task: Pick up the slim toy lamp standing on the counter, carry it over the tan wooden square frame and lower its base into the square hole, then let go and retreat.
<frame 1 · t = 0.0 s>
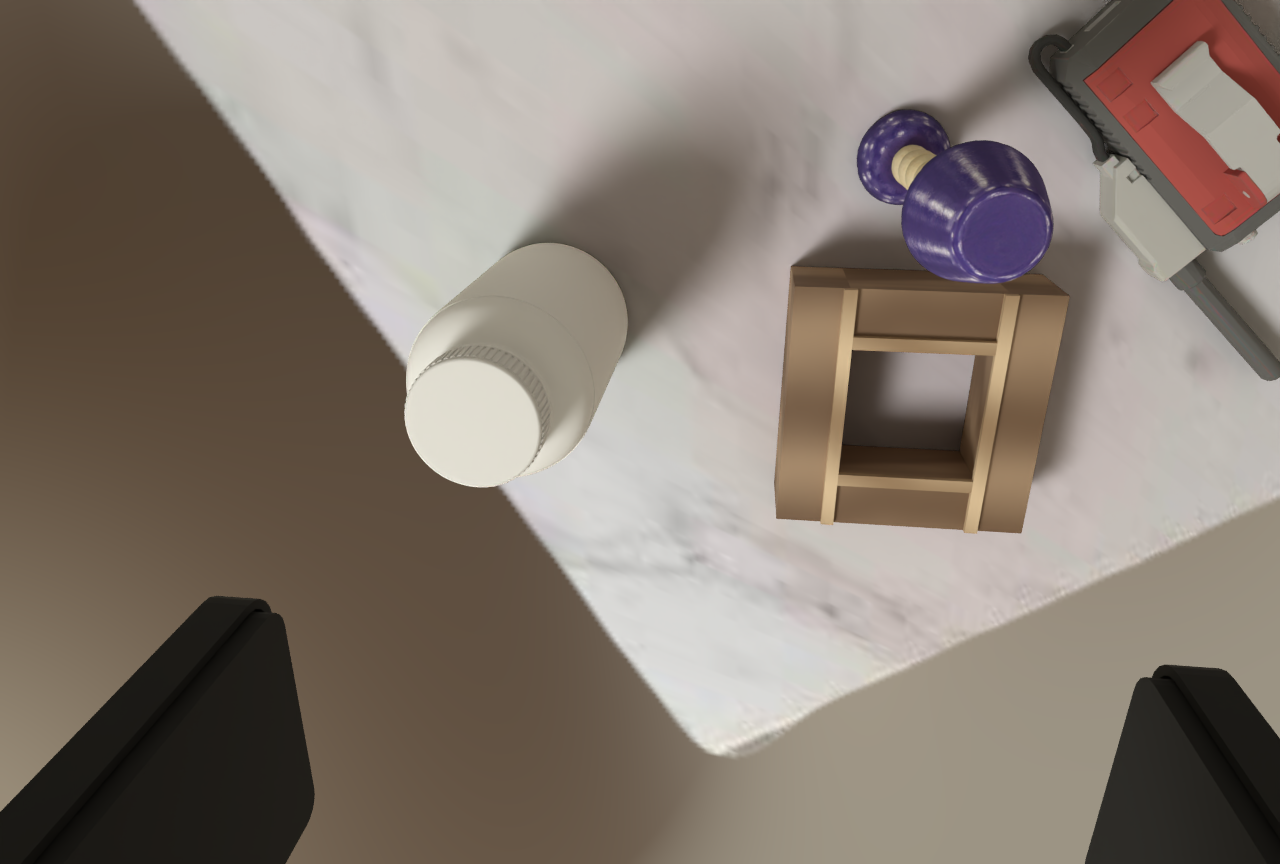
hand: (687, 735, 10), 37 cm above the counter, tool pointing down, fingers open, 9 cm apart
tan wooden square frame: (899, 385, 46), on the counter
pill bottle: (554, 314, 47), on the counter
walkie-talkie: (1197, 172, 41), on the counter
toy lamp: (906, 163, 42), on the counter
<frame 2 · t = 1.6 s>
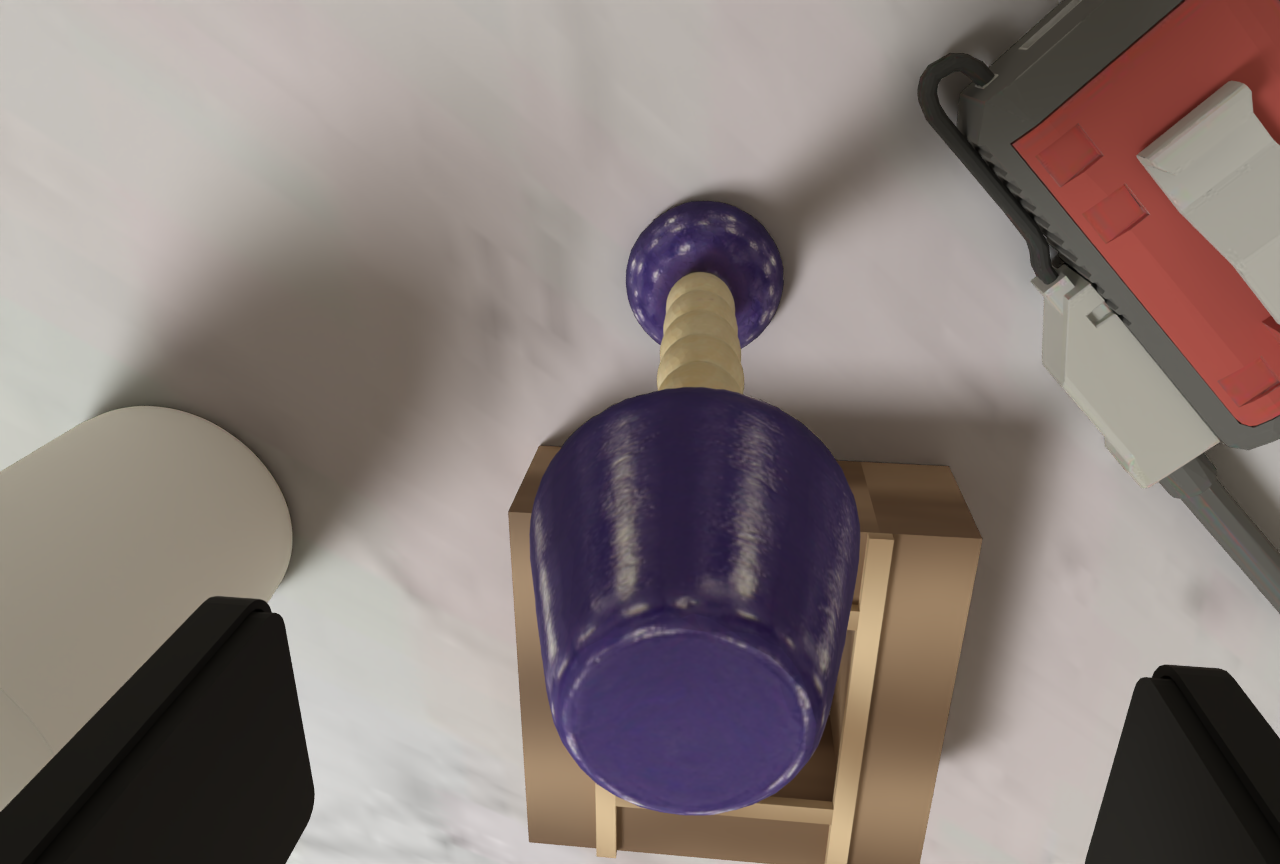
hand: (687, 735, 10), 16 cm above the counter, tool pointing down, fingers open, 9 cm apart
tan wooden square frame: (730, 622, 29), on the counter
pill bottle: (184, 506, 30), on the counter
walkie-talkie: (1211, 299, 24), on the counter
toy lamp: (712, 287, 25), on the counter
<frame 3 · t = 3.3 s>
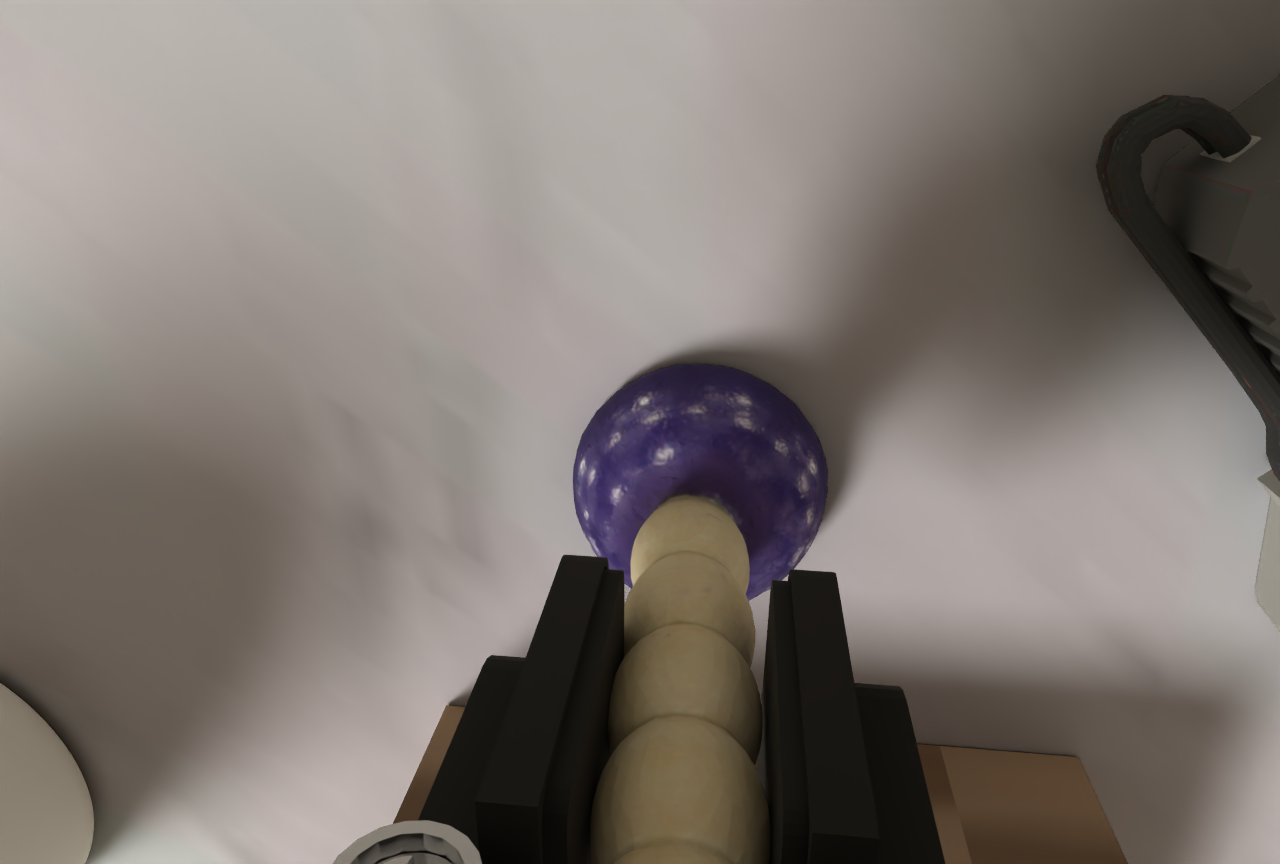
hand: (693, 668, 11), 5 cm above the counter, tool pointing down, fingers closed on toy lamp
toy lamp: (713, 489, 15), on the counter, touching gripper
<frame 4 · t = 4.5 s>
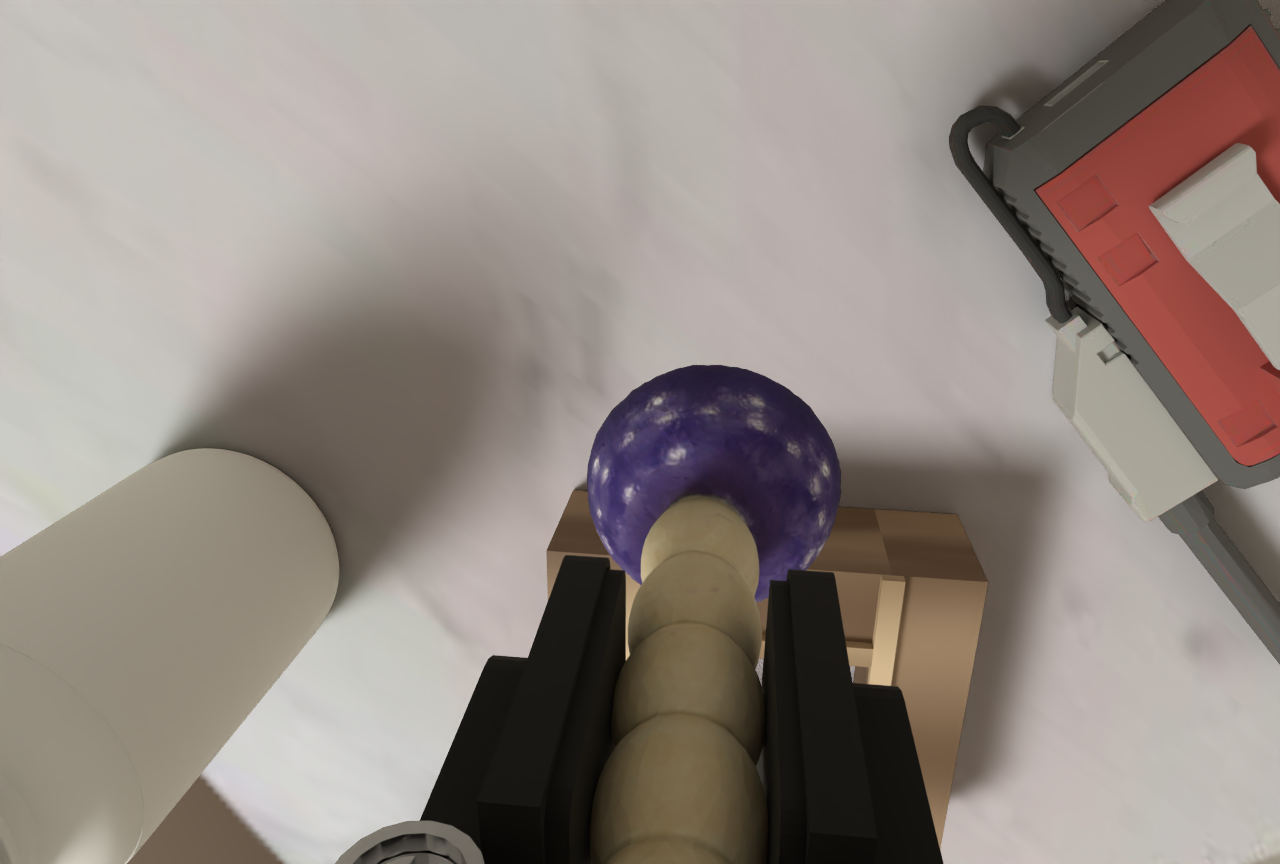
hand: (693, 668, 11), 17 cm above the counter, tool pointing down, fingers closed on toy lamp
tan wooden square frame: (750, 660, 31), on the counter
pill bottle: (238, 543, 32), on the counter
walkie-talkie: (1213, 347, 26), on the counter
toy lamp: (726, 490, 16), point 12 cm above the counter, touching gripper
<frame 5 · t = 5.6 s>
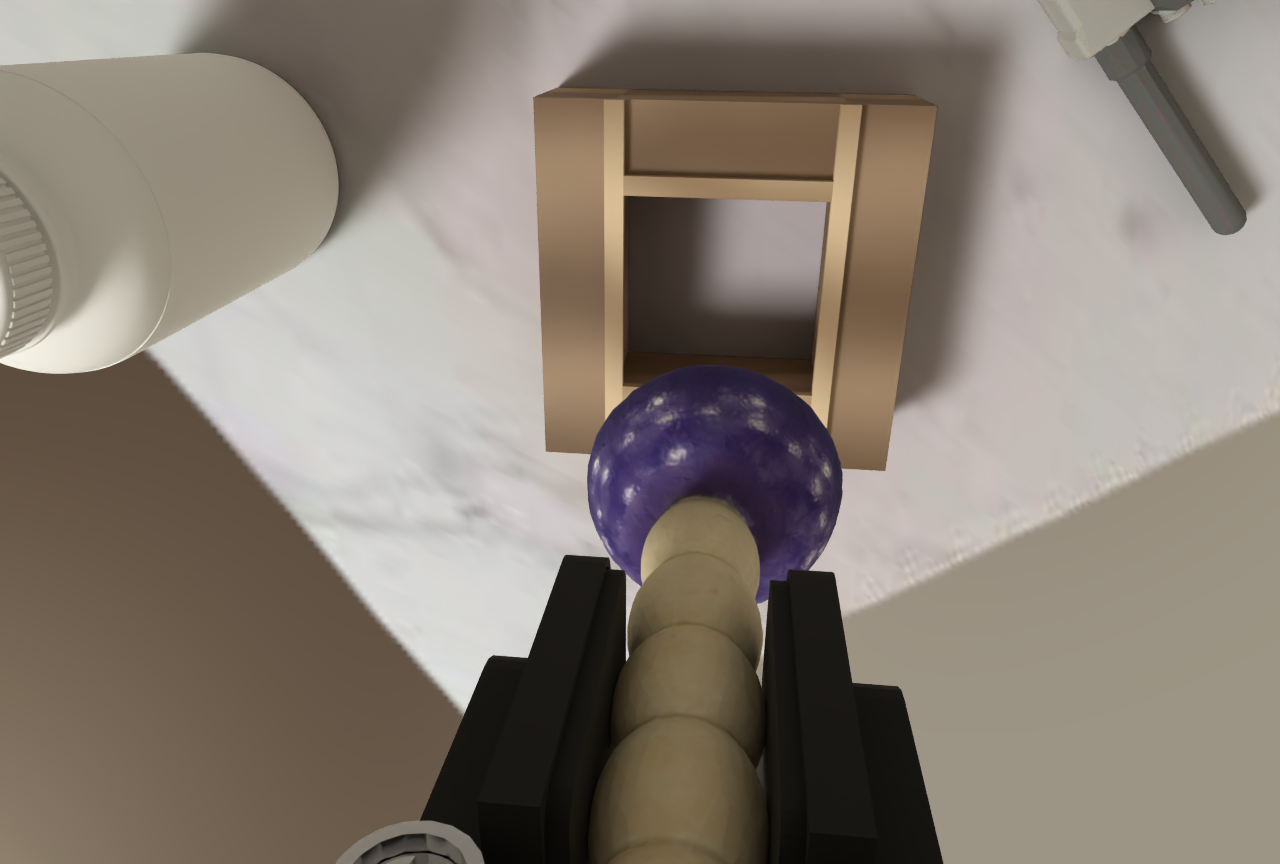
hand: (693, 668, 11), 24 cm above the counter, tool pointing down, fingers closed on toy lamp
tan wooden square frame: (723, 265, 33), on the counter
pill bottle: (242, 166, 33), on the counter
toy lamp: (727, 491, 15), point 19 cm above the counter, touching gripper
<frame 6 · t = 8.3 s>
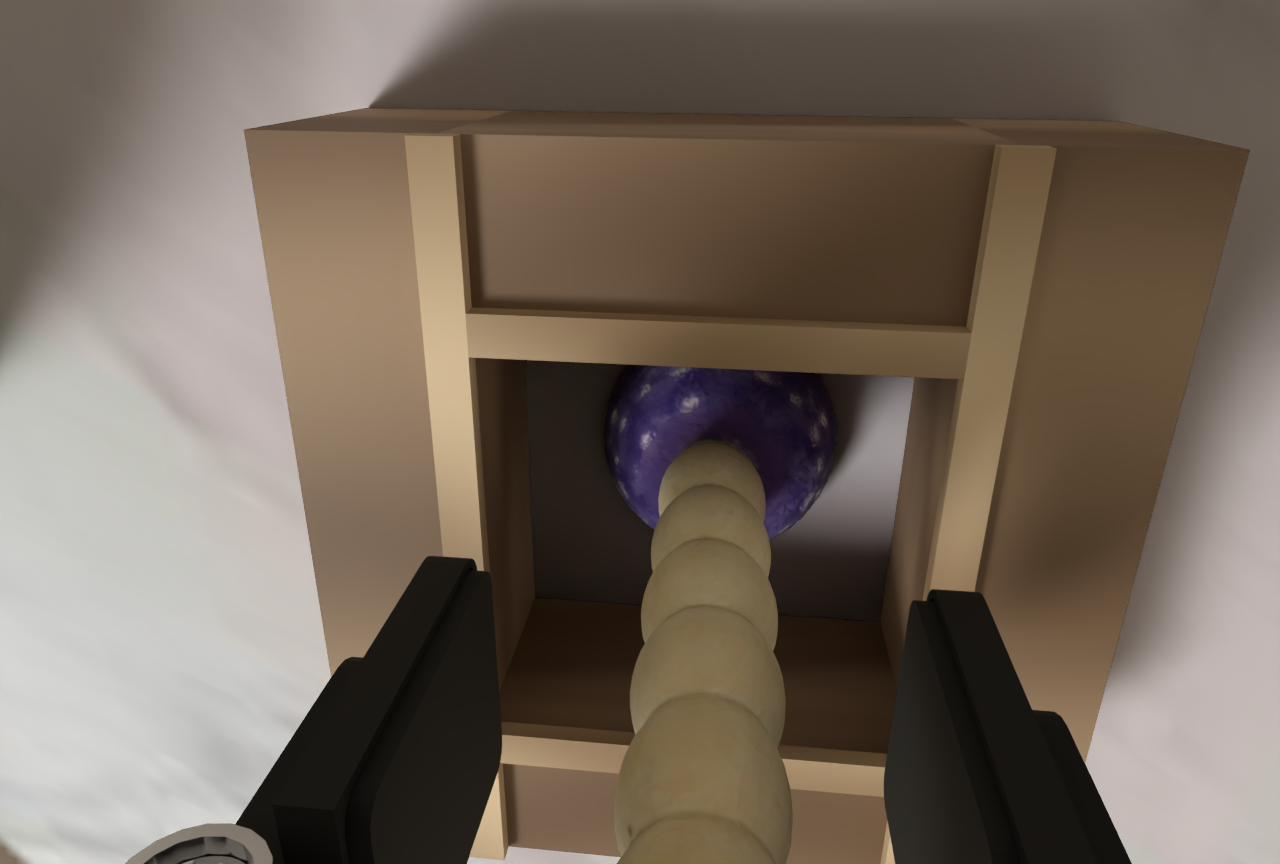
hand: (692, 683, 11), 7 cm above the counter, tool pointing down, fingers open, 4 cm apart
tan wooden square frame: (711, 453, 17), on the counter
toy lamp: (731, 443, 17), resting in tan wooden square frame
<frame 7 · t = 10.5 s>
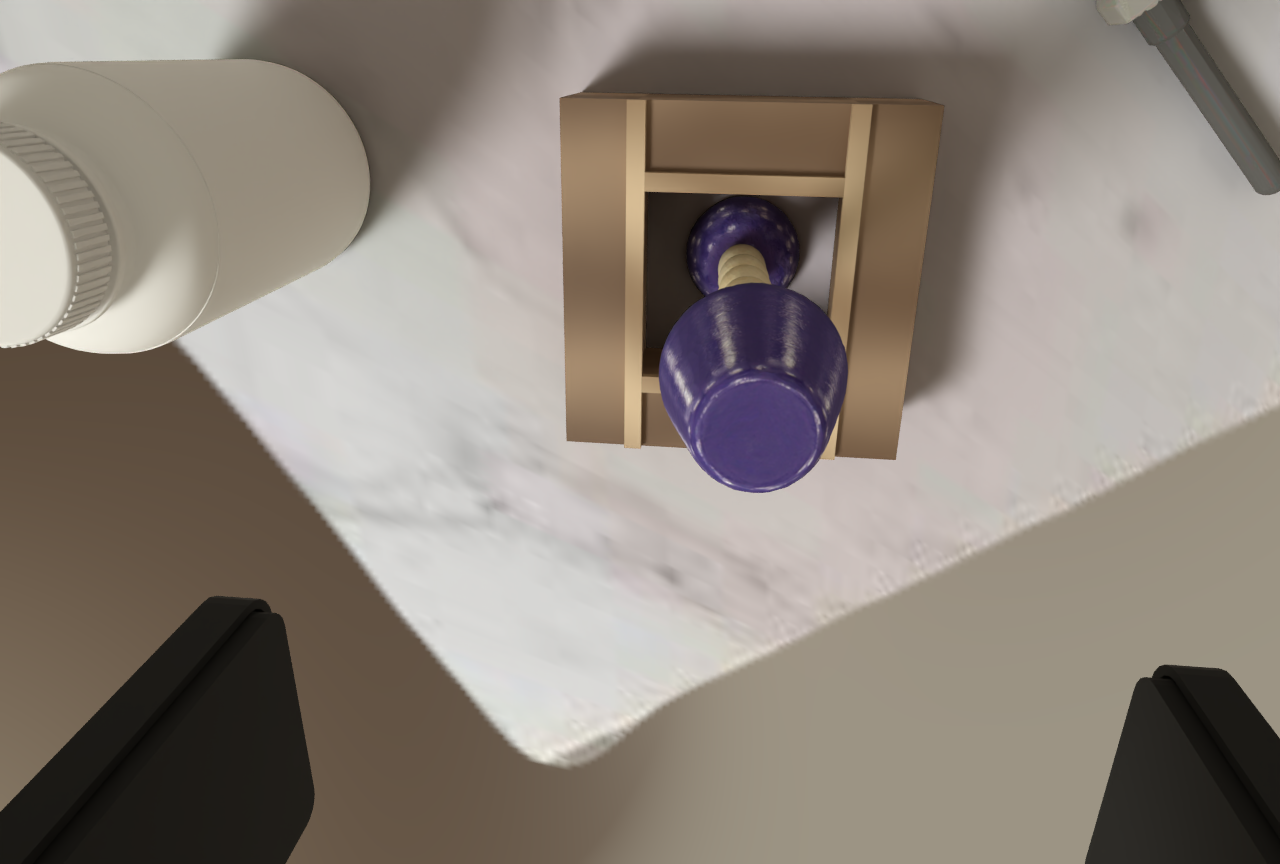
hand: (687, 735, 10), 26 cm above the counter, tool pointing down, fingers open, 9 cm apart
tan wooden square frame: (738, 263, 34), on the counter
pill bottle: (278, 168, 35), on the counter
toy lamp: (748, 259, 34), resting in tan wooden square frame
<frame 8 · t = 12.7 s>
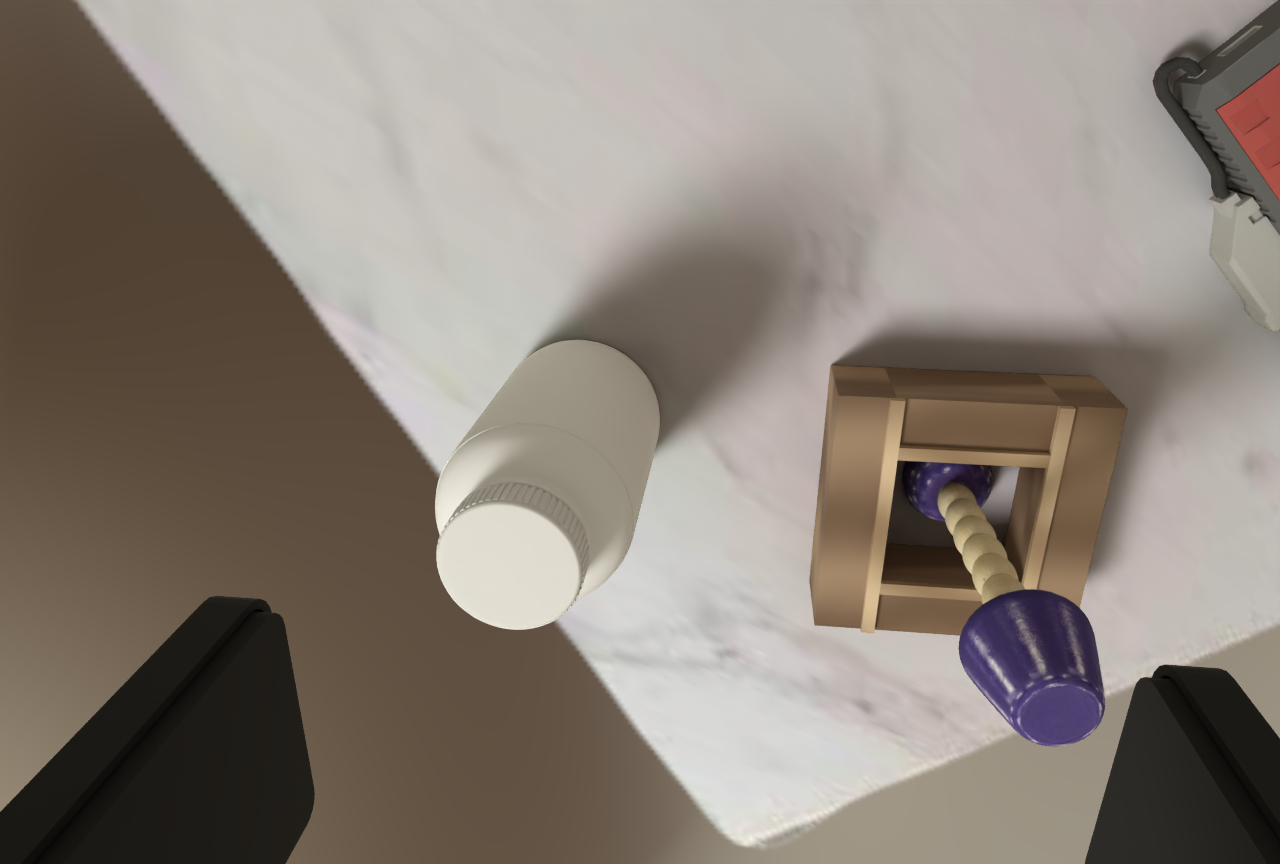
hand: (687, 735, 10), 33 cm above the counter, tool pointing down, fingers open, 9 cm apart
tan wooden square frame: (942, 485, 44), on the counter
pill bottle: (582, 409, 45), on the counter
toy lamp: (949, 481, 45), resting in tan wooden square frame
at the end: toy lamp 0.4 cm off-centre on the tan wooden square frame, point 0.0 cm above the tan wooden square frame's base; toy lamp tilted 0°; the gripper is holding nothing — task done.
